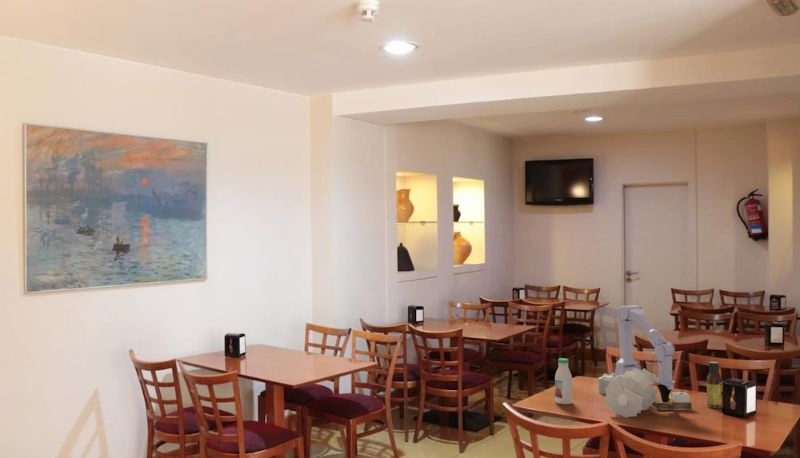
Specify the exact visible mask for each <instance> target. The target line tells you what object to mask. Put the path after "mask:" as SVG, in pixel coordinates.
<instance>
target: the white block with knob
mask: <svg viewBox="0 0 800 458" xmlns="http://www.w3.org/2000/svg"><path fill="white" fill-rule="evenodd" d="M671 395H672V398H673V401H674V402H675V403H691V402H690V401H691V399H690V394H689V393H688V392H687V391H686V392H685V391H683V392H681V391H671Z"/></svg>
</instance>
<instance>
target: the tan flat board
mask: <svg viewBox="0 0 800 458" xmlns="http://www.w3.org/2000/svg"><path fill="white" fill-rule="evenodd" d="M652 408H653V409H654V410H655V411H693V407H692V402H690V403H675V402H674V401H673V405H669V401H668V403H663V402H662V399H659V398H657V400H656V401H655V402H653V403H652Z"/></svg>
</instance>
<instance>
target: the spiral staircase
mask: <svg viewBox="0 0 800 458" xmlns="http://www.w3.org/2000/svg"><path fill="white" fill-rule="evenodd" d="M657 377H658V376H657V375H656V374H655V372H654V373H651V372H650V371H649V370H647V369H646V368H642V369H639V368H638V369H634V368H633V371H630V372H628V371H627V373H626V372H625V374H624V375H618V376H616V378H615V379H612V380H609V382H610V383H609V385H608V386H607V387H606V389H605V391H606V395H605V402H606V406H607V408H609V409H610V410H611V411H612V412H613V413H614V414H615V416H617V415H619V416H621V417H623V418H625V419H628V418H630V417H631V418H632V417H638V414H641V413H642V412H641V411H645V410H649V409H650V408H651V407H652V403H653V402H655V401H656V400H657V399H658V398H657V394H658V391H659V389H658V387H655V386H651V385H653V384H658V382H657V380H658V379H657ZM652 408H653V407H652Z"/></svg>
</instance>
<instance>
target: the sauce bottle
mask: <svg viewBox="0 0 800 458" xmlns="http://www.w3.org/2000/svg"><path fill="white" fill-rule="evenodd" d="M708 366H709V367H708V368H709V370H708V372H709V373H708V374H707V376H706V400H707V401H706V402H707V407H708V408H710V409H722V408H723V404H722V392H723V379H722V377H721V375H720V369H719V366H720V363H719V362H718V361H709V362H708Z"/></svg>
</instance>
